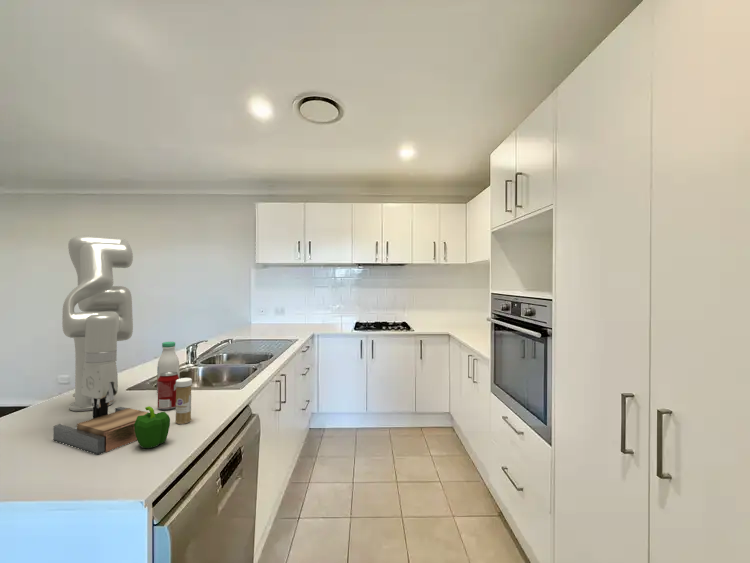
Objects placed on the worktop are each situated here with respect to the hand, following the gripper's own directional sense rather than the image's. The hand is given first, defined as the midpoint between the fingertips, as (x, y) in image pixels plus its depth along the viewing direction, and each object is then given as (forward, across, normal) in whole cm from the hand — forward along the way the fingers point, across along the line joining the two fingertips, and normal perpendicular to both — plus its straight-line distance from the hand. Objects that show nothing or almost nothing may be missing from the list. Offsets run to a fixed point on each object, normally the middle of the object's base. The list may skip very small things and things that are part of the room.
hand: (100, 419), depth 109 cm
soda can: (+4, -2, +23) cm, 24 cm away
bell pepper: (+4, +21, +1) cm, 21 cm away
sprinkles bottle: (+4, +14, +16) cm, 22 cm away
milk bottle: (+4, -18, +35) cm, 39 cm away
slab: (+1, +8, 0) cm, 8 cm away
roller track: (+4, +5, 0) cm, 6 cm away
